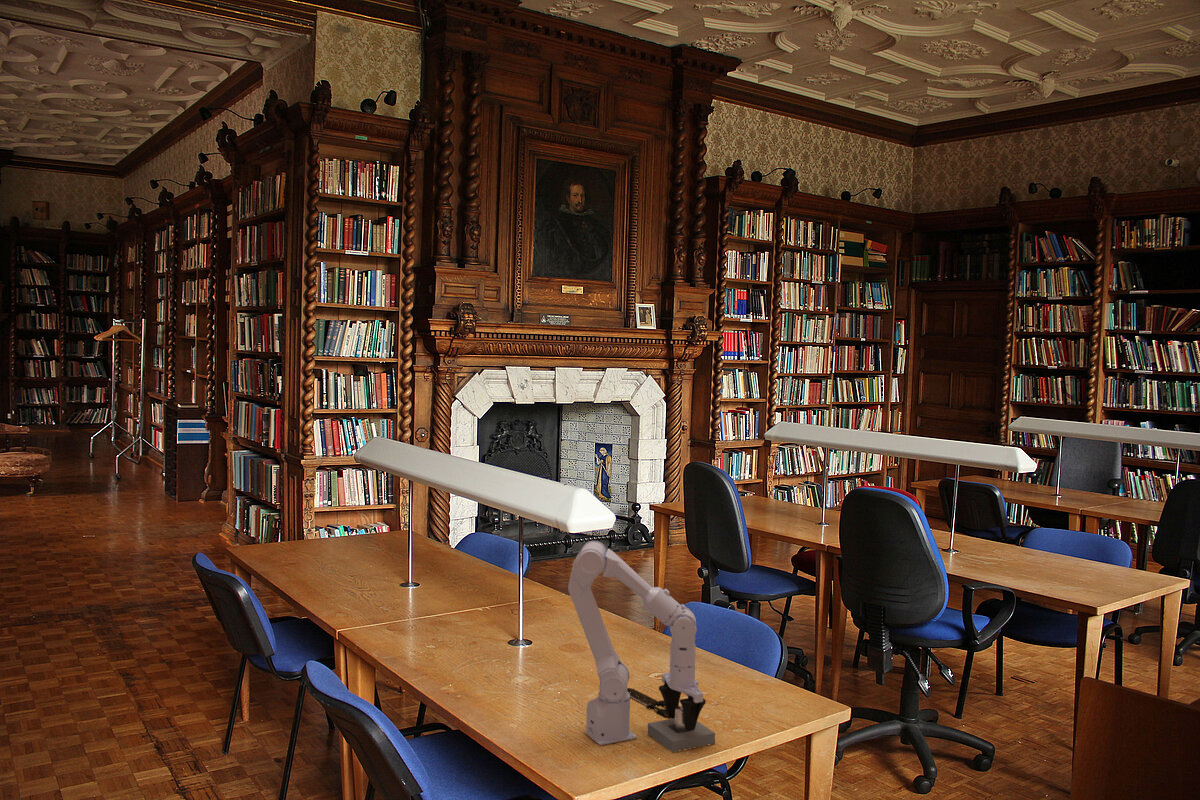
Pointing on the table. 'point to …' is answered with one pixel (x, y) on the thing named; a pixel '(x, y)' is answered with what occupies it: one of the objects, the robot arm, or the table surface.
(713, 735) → the socket block
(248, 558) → the table surface
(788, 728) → the table surface
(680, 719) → the steel pin
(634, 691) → the knife
